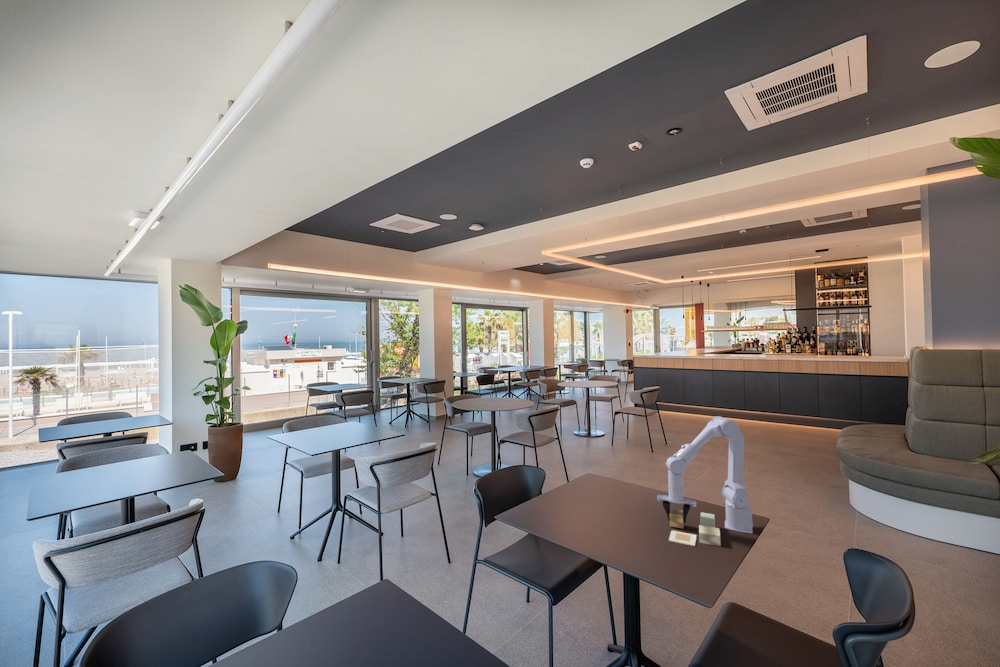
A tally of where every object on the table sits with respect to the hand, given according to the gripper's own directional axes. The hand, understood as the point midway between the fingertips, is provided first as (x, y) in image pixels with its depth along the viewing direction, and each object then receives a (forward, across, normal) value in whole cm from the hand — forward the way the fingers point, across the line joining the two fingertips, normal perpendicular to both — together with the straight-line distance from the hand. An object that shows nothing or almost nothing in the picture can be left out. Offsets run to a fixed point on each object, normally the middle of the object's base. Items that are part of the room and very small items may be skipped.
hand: (677, 521), depth 166 cm
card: (+2, -3, +10) cm, 11 cm away
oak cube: (+1, 0, 0) cm, 1 cm away
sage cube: (+2, -11, -4) cm, 12 cm away
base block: (+2, -12, +7) cm, 14 cm away
